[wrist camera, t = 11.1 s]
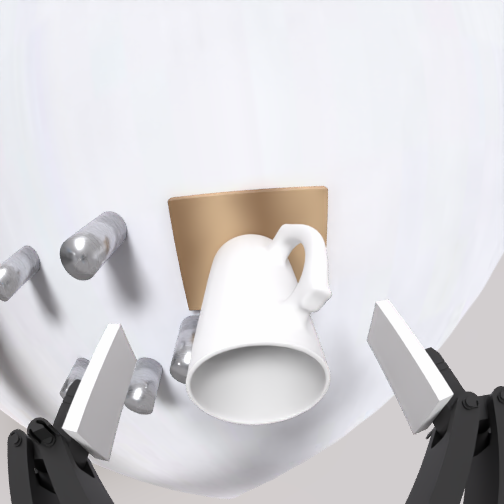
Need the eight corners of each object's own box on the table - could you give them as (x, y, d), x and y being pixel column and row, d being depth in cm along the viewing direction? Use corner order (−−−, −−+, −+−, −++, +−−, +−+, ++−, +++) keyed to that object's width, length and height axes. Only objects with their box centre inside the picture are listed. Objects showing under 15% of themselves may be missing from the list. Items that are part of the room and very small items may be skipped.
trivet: (190, 303, 25) (189, 310, 24) (170, 197, 21) (167, 201, 20) (320, 293, 25) (322, 299, 24) (324, 186, 21) (327, 188, 20)
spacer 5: (184, 340, 27) (175, 384, 21) (177, 316, 25) (165, 360, 20) (214, 339, 27) (210, 384, 21) (210, 314, 25) (203, 360, 20)
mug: (265, 313, 24) (279, 432, 13) (196, 284, 23) (168, 404, 12) (329, 219, 21) (407, 312, 10) (253, 176, 19) (270, 241, 8)
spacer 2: (82, 372, 30) (68, 404, 24) (72, 356, 28) (55, 389, 23) (100, 375, 30) (86, 409, 24) (90, 358, 28) (74, 393, 23)
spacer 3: (100, 247, 22) (68, 281, 17) (92, 214, 21) (54, 241, 15) (130, 244, 22) (101, 279, 17) (122, 209, 21) (88, 236, 15)
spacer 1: (26, 272, 23) (-3, 300, 17) (17, 246, 21) (-15, 272, 16) (43, 271, 23) (13, 301, 17) (34, 244, 22) (0, 271, 16)
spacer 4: (142, 374, 29) (130, 412, 24) (133, 356, 28) (119, 396, 22) (165, 375, 29) (156, 415, 24) (158, 357, 28) (146, 399, 22)
